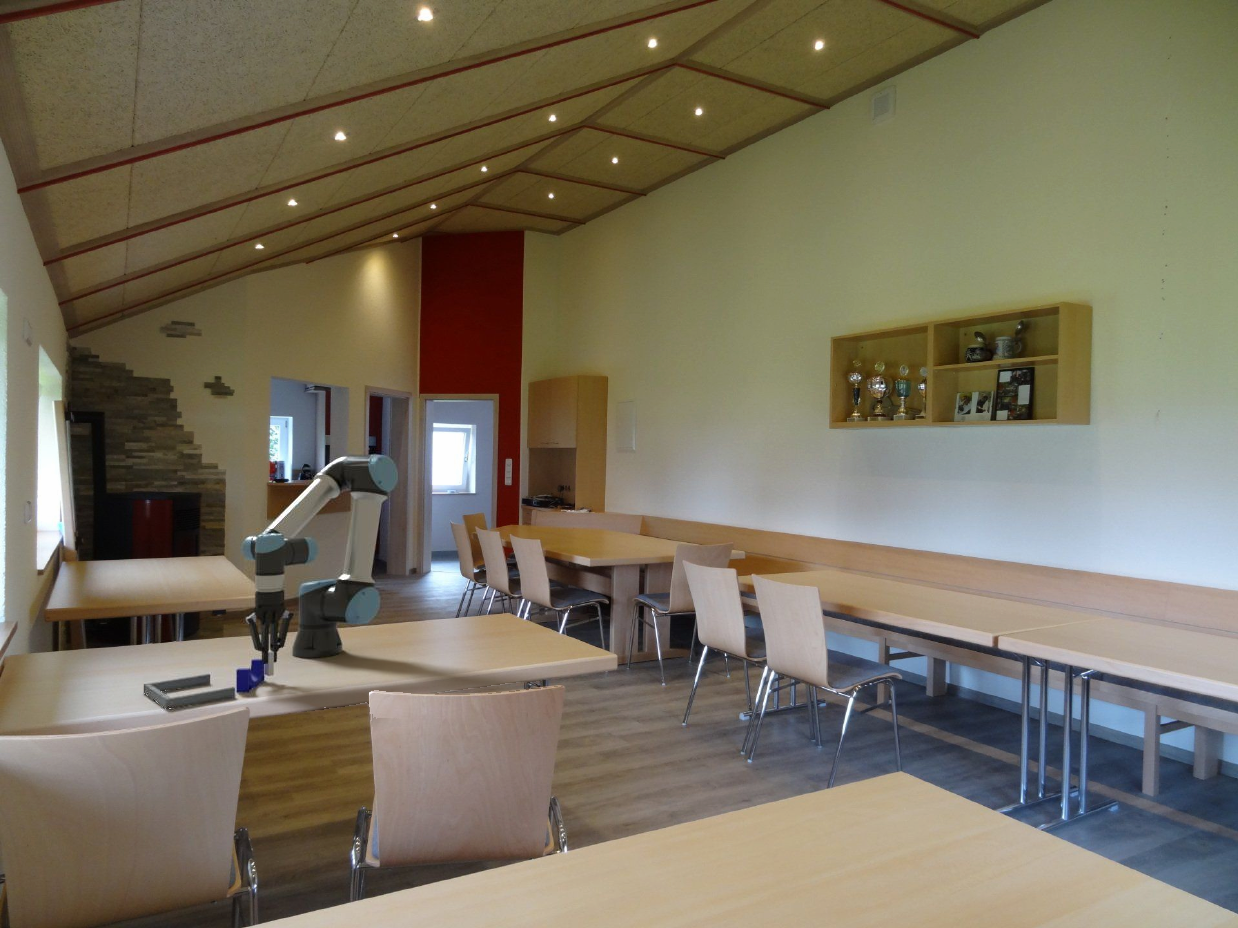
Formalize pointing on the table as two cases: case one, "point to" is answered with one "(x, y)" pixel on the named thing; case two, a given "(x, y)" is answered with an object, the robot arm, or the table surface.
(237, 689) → the cable clip
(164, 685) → the bracket
